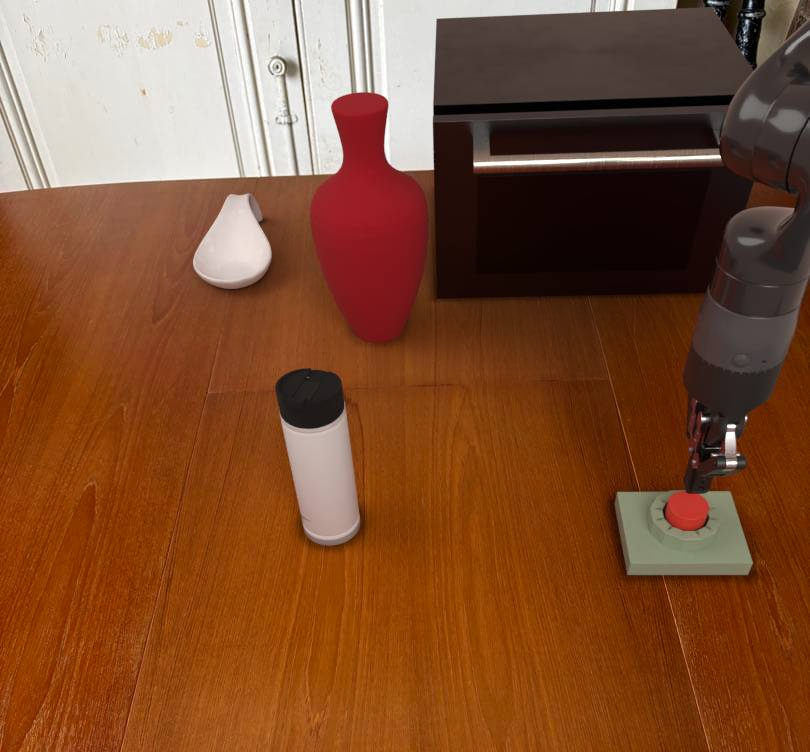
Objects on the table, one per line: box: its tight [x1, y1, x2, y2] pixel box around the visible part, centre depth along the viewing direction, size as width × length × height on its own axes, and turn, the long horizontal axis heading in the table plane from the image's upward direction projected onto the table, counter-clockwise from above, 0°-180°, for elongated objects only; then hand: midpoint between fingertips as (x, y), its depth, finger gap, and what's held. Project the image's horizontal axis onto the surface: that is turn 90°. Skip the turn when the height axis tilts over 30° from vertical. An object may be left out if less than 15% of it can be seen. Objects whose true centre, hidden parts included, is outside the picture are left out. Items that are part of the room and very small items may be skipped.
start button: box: [665, 491, 709, 531], centre depth 82 cm, size 4×4×2 cm
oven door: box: [432, 105, 755, 300], centre depth 105 cm, size 7×40×26 cm, turn 88°
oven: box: [432, 6, 754, 116], centre depth 118 cm, size 32×40×26 cm
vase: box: [309, 91, 430, 344], centre depth 102 cm, size 15×15×30 cm
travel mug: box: [274, 367, 361, 547], centre depth 82 cm, size 6×7×20 cm
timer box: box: [614, 489, 754, 576], centre depth 84 cm, size 12×10×4 cm
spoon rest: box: [192, 192, 273, 290], centre depth 125 cm, size 24×12×7 cm, turn 2°
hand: (694, 488), depth 80 cm, fingers closed
